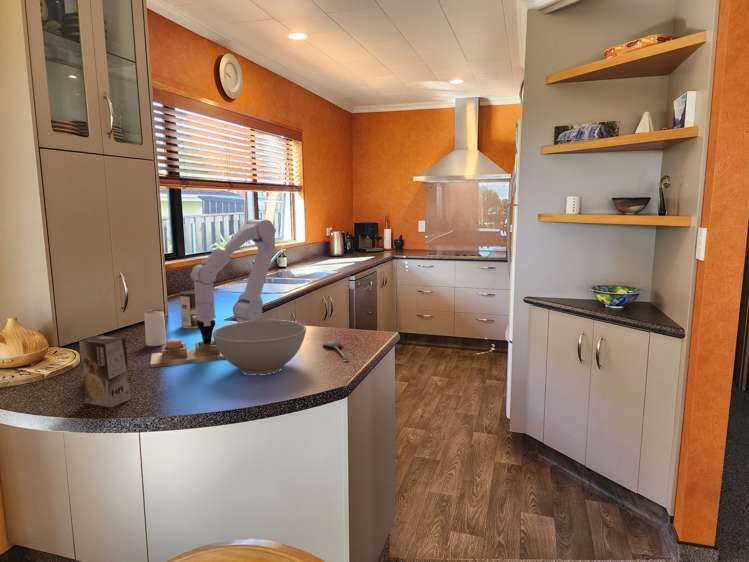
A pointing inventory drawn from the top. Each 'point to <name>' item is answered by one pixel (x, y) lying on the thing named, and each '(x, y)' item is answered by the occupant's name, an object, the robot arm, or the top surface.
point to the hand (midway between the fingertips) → (207, 343)
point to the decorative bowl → (260, 344)
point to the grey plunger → (206, 344)
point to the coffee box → (105, 370)
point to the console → (186, 355)
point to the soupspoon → (335, 345)
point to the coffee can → (188, 309)
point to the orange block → (174, 344)
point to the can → (155, 328)
